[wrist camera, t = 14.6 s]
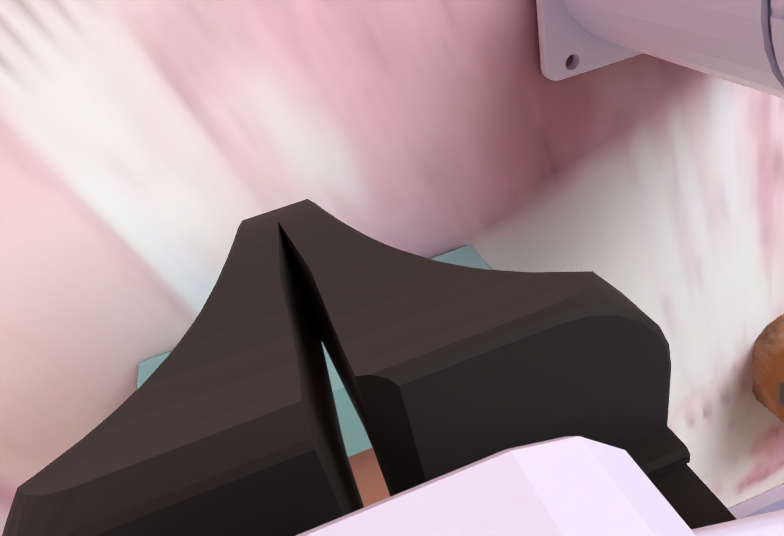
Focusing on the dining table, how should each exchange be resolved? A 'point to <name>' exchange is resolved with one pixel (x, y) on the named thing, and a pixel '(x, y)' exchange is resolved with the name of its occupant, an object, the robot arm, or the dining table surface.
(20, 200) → the dining table surface
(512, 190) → the dining table surface
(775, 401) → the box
